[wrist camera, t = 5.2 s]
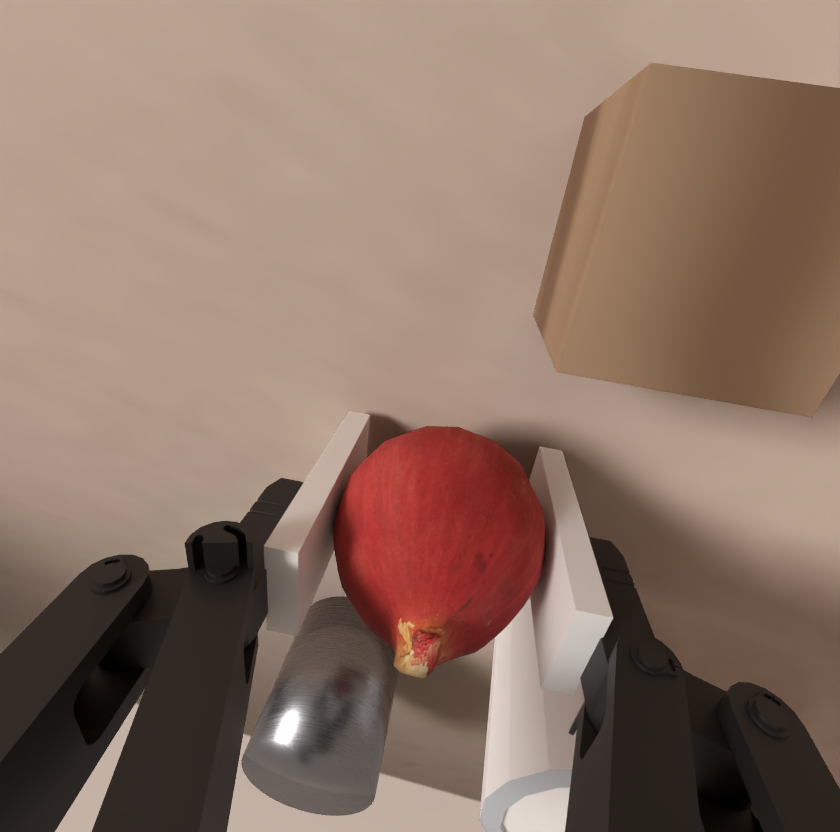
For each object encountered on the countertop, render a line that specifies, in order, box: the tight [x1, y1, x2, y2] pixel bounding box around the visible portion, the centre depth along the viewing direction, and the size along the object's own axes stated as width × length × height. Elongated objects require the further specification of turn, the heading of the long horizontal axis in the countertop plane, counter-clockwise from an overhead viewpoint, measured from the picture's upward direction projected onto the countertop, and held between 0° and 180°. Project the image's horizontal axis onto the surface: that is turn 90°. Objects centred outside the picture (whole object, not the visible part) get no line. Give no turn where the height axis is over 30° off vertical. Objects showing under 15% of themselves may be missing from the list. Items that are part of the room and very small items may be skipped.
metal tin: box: [242, 597, 399, 815], centre depth 18 cm, size 5×5×6 cm
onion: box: [333, 426, 545, 679], centre depth 12 cm, size 6×6×8 cm
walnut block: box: [533, 63, 840, 417], centre depth 10 cm, size 5×5×5 cm
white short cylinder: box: [480, 597, 585, 832], centre depth 16 cm, size 7×7×7 cm
